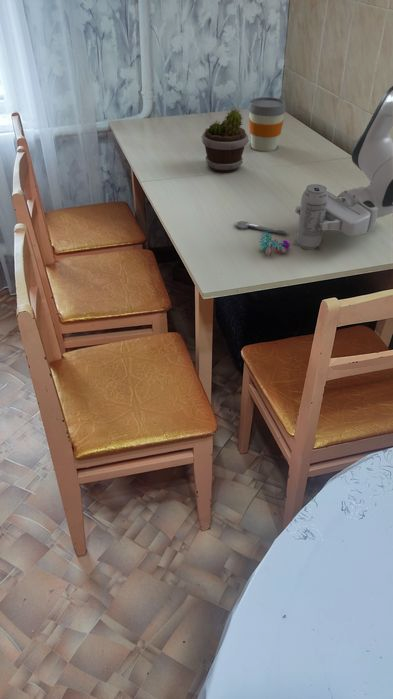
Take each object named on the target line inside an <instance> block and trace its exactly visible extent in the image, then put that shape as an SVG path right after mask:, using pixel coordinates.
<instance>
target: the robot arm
mask: <svg viewBox="0 0 393 699" xmlns="http://www.w3.org/2000/svg"><path fill="white" fill-rule="evenodd" d="M392 128H393V85H392V86H391V87H389V88H388V90H387V91H386V92H385V93H384V95H383V96H382V98H381V100H380V101H379V103H378V104H377V107H376V108H375V111H374V112H373V114H372V116H371V118H370V120H369V122H368V123H367V125H366V127H365V129H364V131H363V132H362V134H361V135H360V137H359V138H358V139H357V140H356V142H355V144H354V145H353V148H352V152H351V161H352V163H353V164H354V165H355V166H356V167H357V168H358V169H359V170H360V171H361V172H362V173H363V174H364V176H365V177H366V178H367V180H369V182H370V183H369V184H368V185H367V186H358V187H354V188H349V189H346V190H343V191H341V192H340V193H339V194H338V196H337V195H335V194H333V193H332V192H330V191H329V190H326V191H327V194H328V200H327V206H326V212H325V218H324V221H321V222H320V223H319V228H320V229H322V231H328V230H329V231H339V232H341V233H342V234H344V235H345V236H346V237H353V238H354V237H358V236H362V235H364V234H366V233H367V234H369V233H372V232H374V228H375V226H376V223H377V219H379V218H383V217H385V216H388V215H390V214H393V139H392V137H391V130H392ZM302 196H303V194H302V195H301V198H300V205H297V206H296V207H295V213H296V214H297V215H299V216H300V211H301V203H302Z"/></svg>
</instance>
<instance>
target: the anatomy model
mask: <svg viewBox="0 0 393 699" xmlns="http://www.w3.org/2000/svg"><path fill="white" fill-rule="evenodd" d="M272 238H273V237H272V232H270V231H263V233H262V234H261V235H260V237H259V238H258V242H259V245H260V247H261V249H262V252H264V254H265V256H271V254H272V250H273V249H274V248H275V250H276V251H275V254H278V255H280V253H281V254H286V253H287V250H289V248H290V246H291V243H290V242H289V241H288V240H286V239H284V240H282V242H279V240H277V239H276V238H274V239H273V240H272ZM272 247H273V248H272Z"/></svg>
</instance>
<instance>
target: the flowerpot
mask: <svg viewBox="0 0 393 699" xmlns="http://www.w3.org/2000/svg"><path fill="white" fill-rule="evenodd" d="M243 115H244V114H242V111H240V109H239V107H237V104H236V105H235V106H234V107H232V106H231V108H230V110H228V111H227V114H225V116H224V118H223V119H222V120H221V121H222V122H221V121H219V120H220V119H217V120H216V119H214V121H213V120H212V121H211V123H210V125H209V127H207V128H205V130H204V131H203V133H202V135H201V142H202V144H203V145H204V149H205V154H206V156H205V163H206V165H207V167H208V168H209V169H210V170H211V171H214V172H216V173H232V172H235V171H237V170H239V168H240V167H241V165H243V162H244V161H243V160H244V159H243V153H244V149H245V147H246V146H247V145H248V143H249V141H250V140H249V134H247V132H246V130H245V129H244V128H242V126H243V125H244V123H243V117H244V116H243Z"/></svg>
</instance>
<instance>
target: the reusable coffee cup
mask: <svg viewBox="0 0 393 699" xmlns="http://www.w3.org/2000/svg"><path fill="white" fill-rule="evenodd" d="M248 112H249V117H248V131H249V134H250V146H251V148H252V149H253V150H254V151H255V150H256V151H259V152H271V151H274V150H276V149H277V146H278V141H279V137H280V136H281V134H282V130H283V125H284V121H285V120H284V114H285V113H286V101H285V100H283V99H281V98H277V97H269V96H264V97H263V96H261V97H254V98H252V99H250V101H249V105H248Z"/></svg>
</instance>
